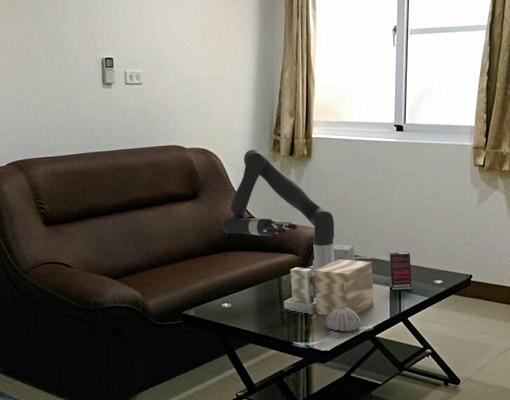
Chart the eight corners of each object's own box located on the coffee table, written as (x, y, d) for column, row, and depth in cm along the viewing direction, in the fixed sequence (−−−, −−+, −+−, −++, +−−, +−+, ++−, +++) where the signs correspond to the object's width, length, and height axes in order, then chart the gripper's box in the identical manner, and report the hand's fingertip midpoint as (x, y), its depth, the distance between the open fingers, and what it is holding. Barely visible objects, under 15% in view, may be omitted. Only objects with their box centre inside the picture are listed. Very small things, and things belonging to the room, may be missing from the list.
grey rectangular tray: (284, 310, 327) (283, 301, 327) (297, 304, 335) (296, 295, 334) (311, 314, 319) (311, 305, 319) (324, 308, 327) (323, 298, 326)
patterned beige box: (312, 313, 321) (309, 269, 318) (337, 300, 337) (335, 258, 334) (349, 318, 311) (346, 273, 308) (373, 304, 327) (371, 262, 324)
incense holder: (330, 267, 394) (329, 247, 392) (338, 263, 401) (337, 243, 399) (348, 269, 388) (347, 248, 387) (356, 265, 395) (355, 244, 394)
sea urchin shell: (334, 321, 309) (333, 301, 308) (367, 324, 302) (366, 304, 301) (320, 332, 298) (318, 311, 297) (353, 335, 291) (352, 314, 290)
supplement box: (410, 286, 350) (409, 251, 348) (411, 289, 346) (410, 253, 343) (390, 287, 351) (389, 252, 349) (391, 290, 347) (390, 254, 344)
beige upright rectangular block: (292, 307, 328) (290, 269, 325) (298, 304, 331) (295, 267, 329) (311, 309, 322) (308, 271, 320) (316, 307, 326) (314, 269, 323)
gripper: (251, 221, 348) (281, 223, 338) (269, 215, 359) (299, 217, 349) (252, 238, 349) (282, 240, 339) (271, 231, 360) (301, 233, 350)
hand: (291, 228), depth 344 cm, fingers open, 8 cm apart
